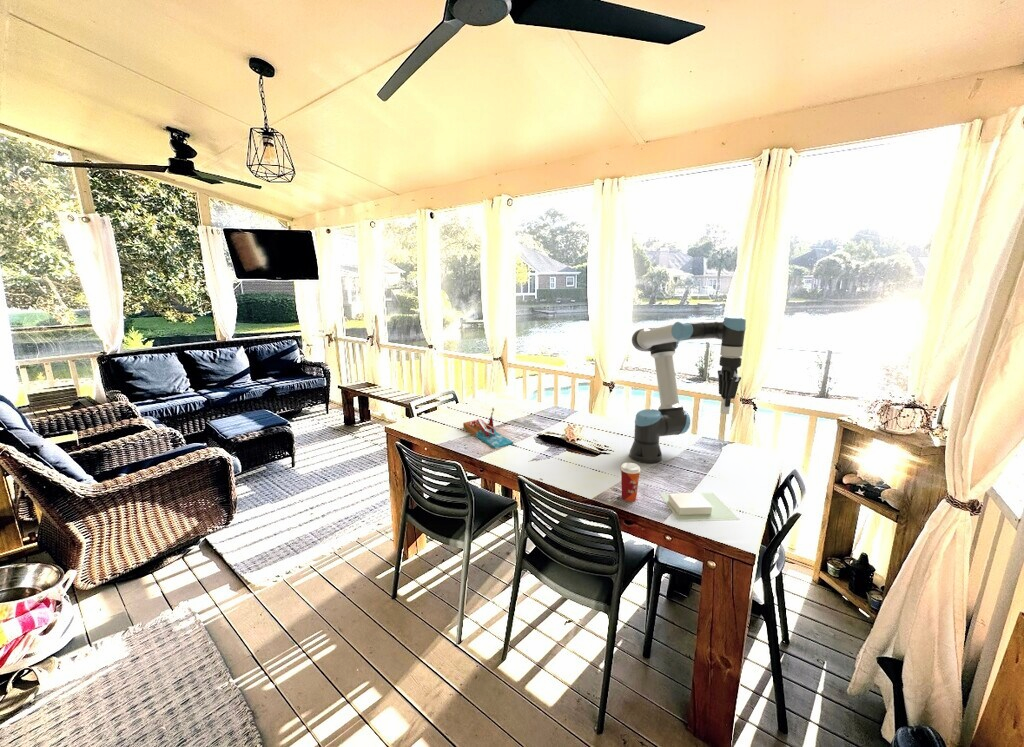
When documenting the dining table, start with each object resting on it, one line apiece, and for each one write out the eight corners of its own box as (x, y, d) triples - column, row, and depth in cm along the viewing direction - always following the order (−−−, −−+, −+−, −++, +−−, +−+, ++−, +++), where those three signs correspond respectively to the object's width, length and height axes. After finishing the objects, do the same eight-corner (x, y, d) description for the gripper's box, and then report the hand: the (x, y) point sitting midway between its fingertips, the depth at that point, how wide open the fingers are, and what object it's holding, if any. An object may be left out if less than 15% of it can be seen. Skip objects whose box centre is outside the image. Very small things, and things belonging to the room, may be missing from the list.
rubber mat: (659, 495, 162) (659, 493, 162) (712, 494, 163) (712, 492, 163) (679, 522, 144) (679, 521, 144) (739, 521, 144) (739, 519, 144)
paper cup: (633, 505, 155) (635, 472, 152) (615, 498, 160) (617, 466, 157) (642, 497, 161) (644, 465, 158) (624, 491, 166) (626, 460, 163)
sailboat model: (494, 449, 210) (494, 418, 207) (463, 429, 241) (462, 402, 237) (513, 445, 217) (513, 415, 213) (480, 426, 247) (480, 399, 244)
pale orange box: (698, 500, 157) (668, 501, 157) (699, 492, 156) (668, 493, 156) (711, 514, 147) (679, 515, 147) (712, 506, 147) (679, 507, 147)
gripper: (750, 359, 150) (743, 418, 156) (731, 353, 163) (725, 408, 168) (730, 359, 150) (724, 418, 156) (713, 353, 163) (707, 408, 168)
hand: (724, 413), depth 162 cm, fingers closed
